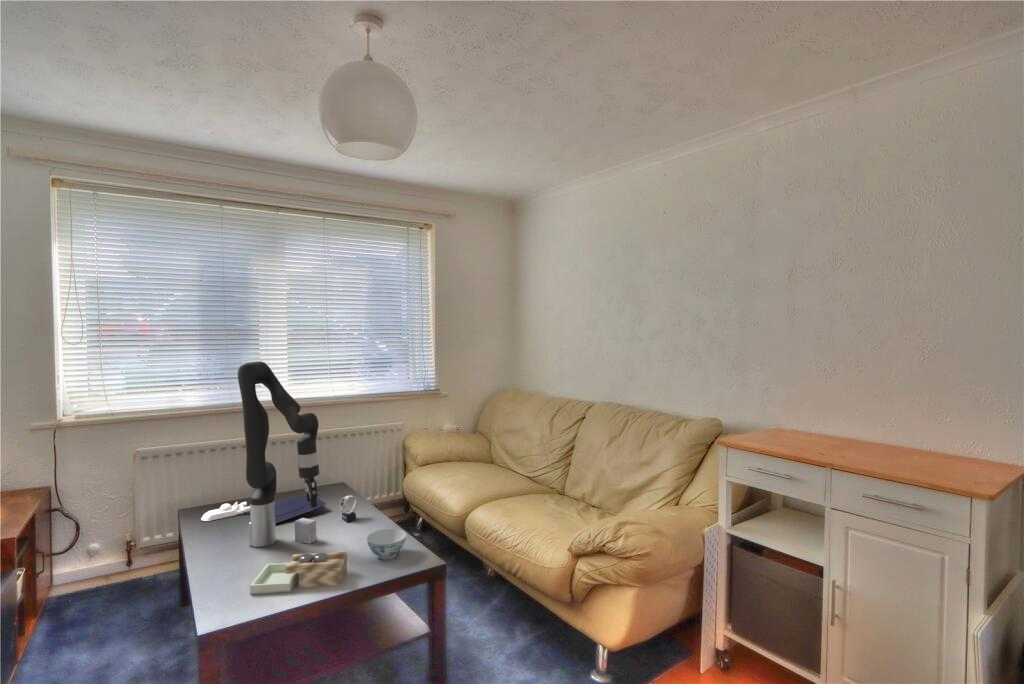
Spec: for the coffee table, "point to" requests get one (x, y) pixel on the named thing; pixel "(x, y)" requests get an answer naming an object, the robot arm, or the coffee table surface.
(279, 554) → the coffee table surface
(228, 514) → the plane toy
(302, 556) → the puck
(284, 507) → the blue flat panel
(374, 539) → the chinaware
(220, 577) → the coffee table surface
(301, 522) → the medicine box
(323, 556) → the puck
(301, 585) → the slotted board
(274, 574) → the tray
